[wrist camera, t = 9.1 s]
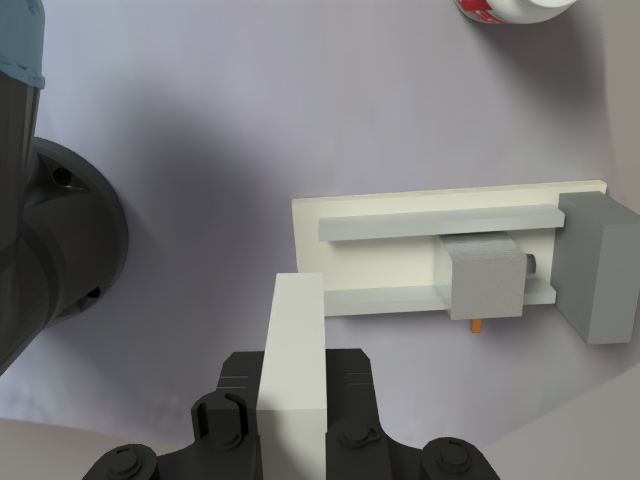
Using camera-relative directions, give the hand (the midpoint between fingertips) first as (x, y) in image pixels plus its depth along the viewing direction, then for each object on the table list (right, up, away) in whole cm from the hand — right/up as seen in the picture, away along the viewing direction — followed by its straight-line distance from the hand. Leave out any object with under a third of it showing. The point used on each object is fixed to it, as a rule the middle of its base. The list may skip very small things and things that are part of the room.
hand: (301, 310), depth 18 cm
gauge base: (+11, +2, +26) cm, 28 cm away
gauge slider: (+13, 0, +25) cm, 29 cm away
